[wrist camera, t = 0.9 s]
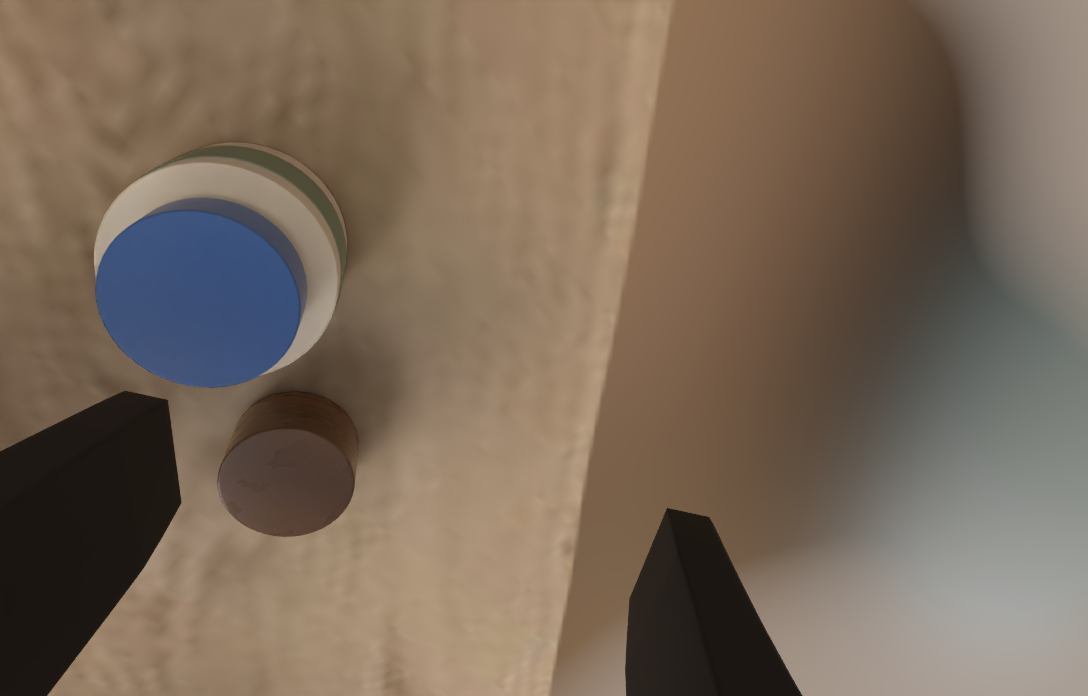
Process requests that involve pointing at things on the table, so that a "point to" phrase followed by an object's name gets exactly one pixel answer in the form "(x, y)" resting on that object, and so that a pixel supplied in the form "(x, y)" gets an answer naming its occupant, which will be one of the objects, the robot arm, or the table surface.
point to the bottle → (220, 265)
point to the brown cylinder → (290, 465)
